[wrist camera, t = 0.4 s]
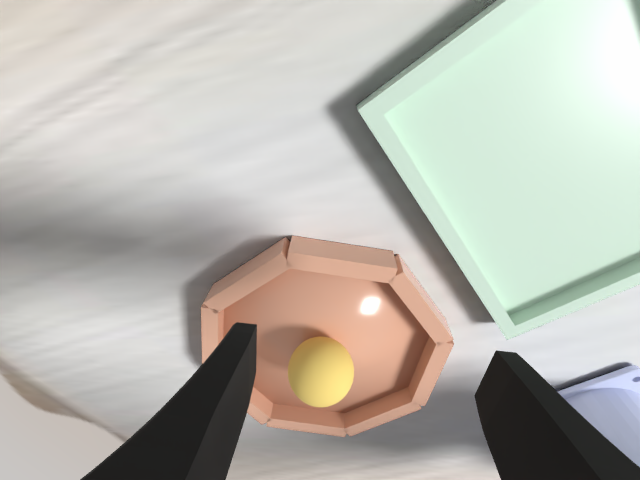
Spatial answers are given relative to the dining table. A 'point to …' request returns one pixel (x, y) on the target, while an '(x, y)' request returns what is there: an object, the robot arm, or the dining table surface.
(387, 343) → the dish
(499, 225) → the tray
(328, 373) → the ball
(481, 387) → the robot arm
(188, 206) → the dining table surface
